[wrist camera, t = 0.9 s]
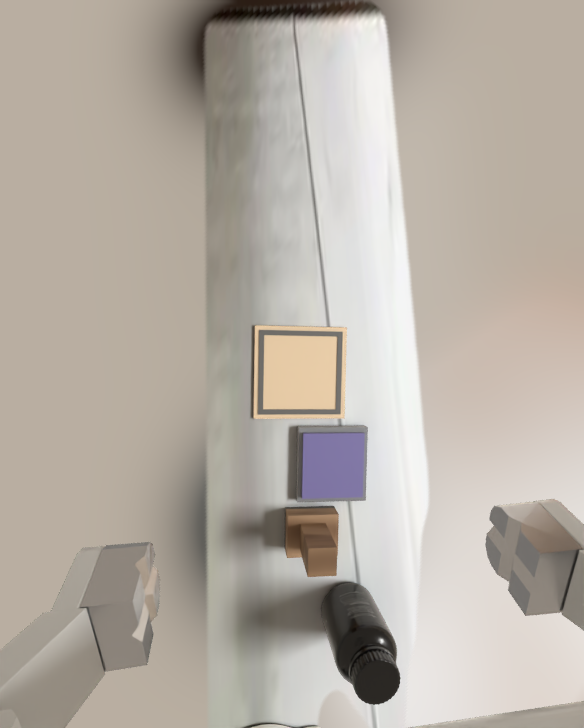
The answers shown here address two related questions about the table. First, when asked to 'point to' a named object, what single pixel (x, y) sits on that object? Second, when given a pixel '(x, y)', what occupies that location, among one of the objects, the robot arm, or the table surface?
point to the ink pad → (331, 463)
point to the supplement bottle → (361, 642)
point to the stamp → (313, 538)
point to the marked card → (299, 372)
